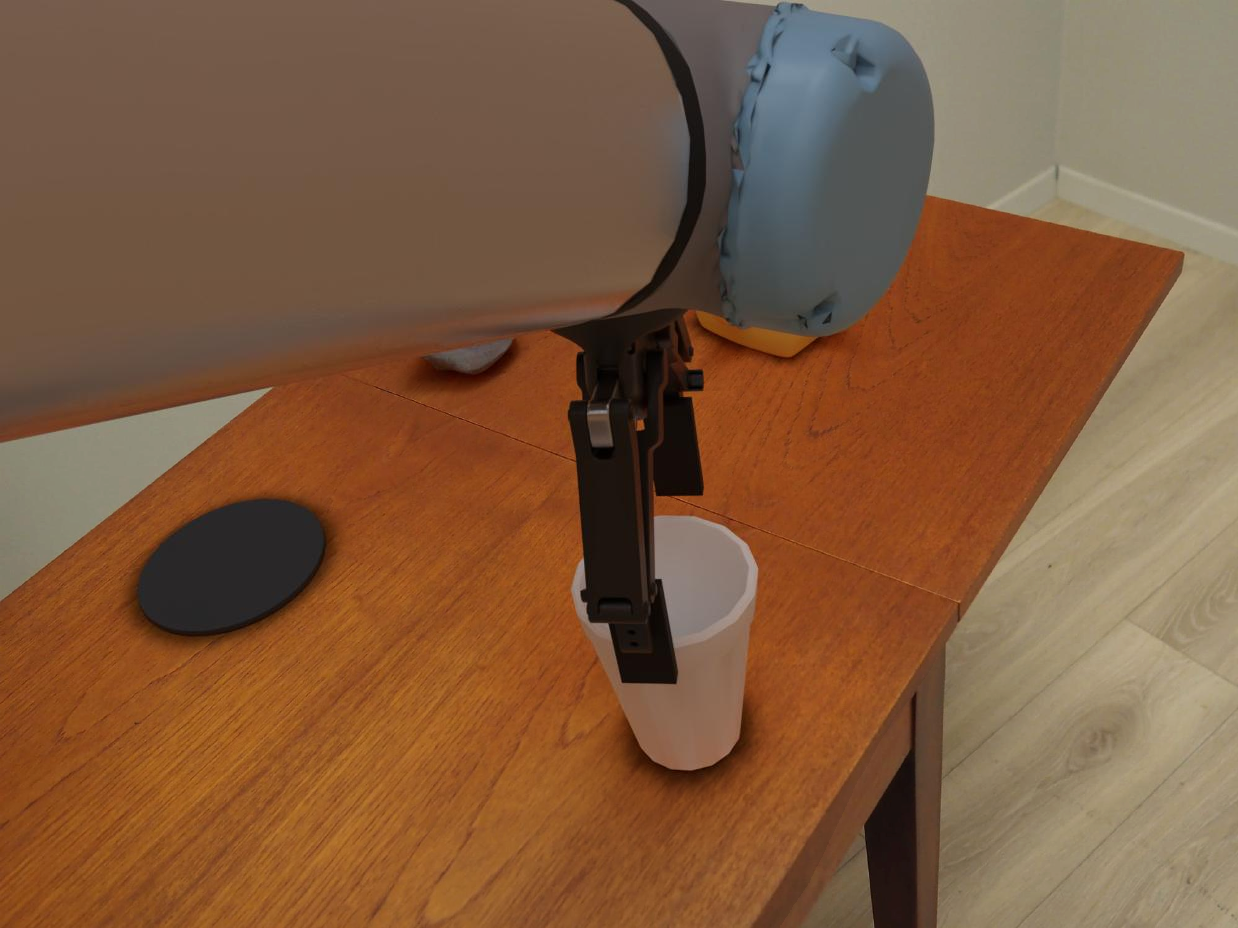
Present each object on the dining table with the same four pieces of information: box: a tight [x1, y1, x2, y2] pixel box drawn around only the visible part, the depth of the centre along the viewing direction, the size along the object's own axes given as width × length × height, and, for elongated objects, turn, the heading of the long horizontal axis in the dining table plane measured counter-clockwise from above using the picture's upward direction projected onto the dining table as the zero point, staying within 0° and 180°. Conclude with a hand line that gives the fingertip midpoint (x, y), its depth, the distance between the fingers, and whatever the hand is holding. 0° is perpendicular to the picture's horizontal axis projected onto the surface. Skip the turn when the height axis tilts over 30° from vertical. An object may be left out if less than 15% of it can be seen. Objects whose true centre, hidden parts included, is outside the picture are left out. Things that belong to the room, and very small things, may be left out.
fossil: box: [420, 337, 515, 376], centre depth 102 cm, size 11×9×8 cm
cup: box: [570, 514, 759, 771], centre depth 66 cm, size 10×10×13 cm
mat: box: [136, 498, 326, 636], centre depth 88 cm, size 14×14×1 cm
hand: (666, 577), depth 62 cm, fingers open, 13 cm apart
